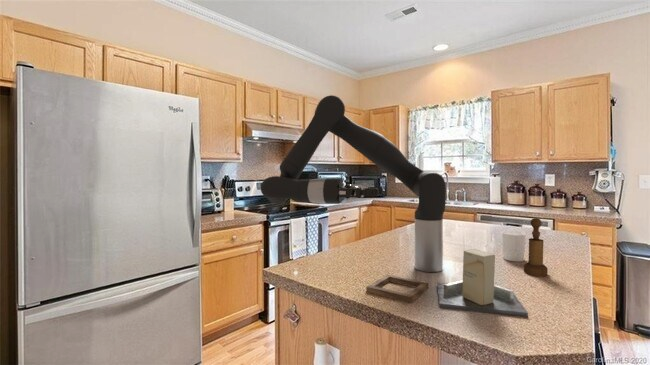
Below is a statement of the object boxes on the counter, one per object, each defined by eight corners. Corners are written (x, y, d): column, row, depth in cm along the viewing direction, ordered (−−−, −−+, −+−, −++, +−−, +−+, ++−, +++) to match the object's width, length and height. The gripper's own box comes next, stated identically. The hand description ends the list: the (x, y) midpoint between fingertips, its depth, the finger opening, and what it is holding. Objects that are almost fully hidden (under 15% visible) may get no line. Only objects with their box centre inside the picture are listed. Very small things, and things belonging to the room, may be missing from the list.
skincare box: (461, 297, 82) (461, 250, 82) (473, 294, 84) (474, 248, 84) (482, 306, 77) (483, 256, 76) (495, 302, 78) (495, 254, 78)
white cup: (525, 258, 122) (526, 232, 122) (525, 263, 115) (525, 235, 115) (502, 255, 126) (502, 230, 126) (500, 260, 120) (501, 233, 119)
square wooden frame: (387, 279, 100) (387, 274, 100) (428, 288, 92) (428, 282, 92) (366, 291, 89) (366, 286, 89) (410, 302, 81) (410, 297, 81)
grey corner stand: (437, 285, 94) (437, 273, 94) (509, 292, 88) (510, 279, 88) (439, 307, 78) (439, 293, 78) (527, 317, 73) (528, 302, 73)
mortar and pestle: (551, 277, 100) (552, 220, 100) (528, 275, 101) (529, 219, 101) (541, 270, 107) (542, 217, 106) (520, 269, 108) (520, 216, 107)
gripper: (318, 179, 88) (376, 178, 83) (332, 178, 102) (383, 177, 97) (318, 206, 88) (376, 207, 84) (332, 201, 102) (383, 202, 97)
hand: (380, 191), depth 90 cm, fingers open, 8 cm apart
